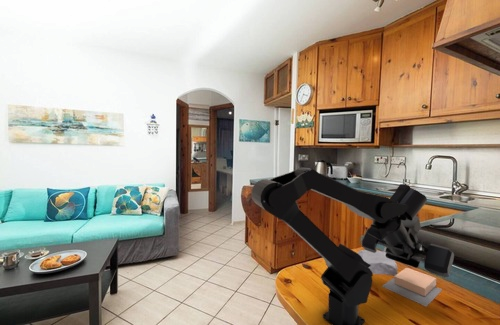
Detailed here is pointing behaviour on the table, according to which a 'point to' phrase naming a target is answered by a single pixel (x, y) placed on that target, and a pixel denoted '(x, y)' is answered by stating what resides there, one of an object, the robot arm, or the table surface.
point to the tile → (415, 281)
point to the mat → (412, 293)
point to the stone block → (379, 262)
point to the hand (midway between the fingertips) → (411, 264)
